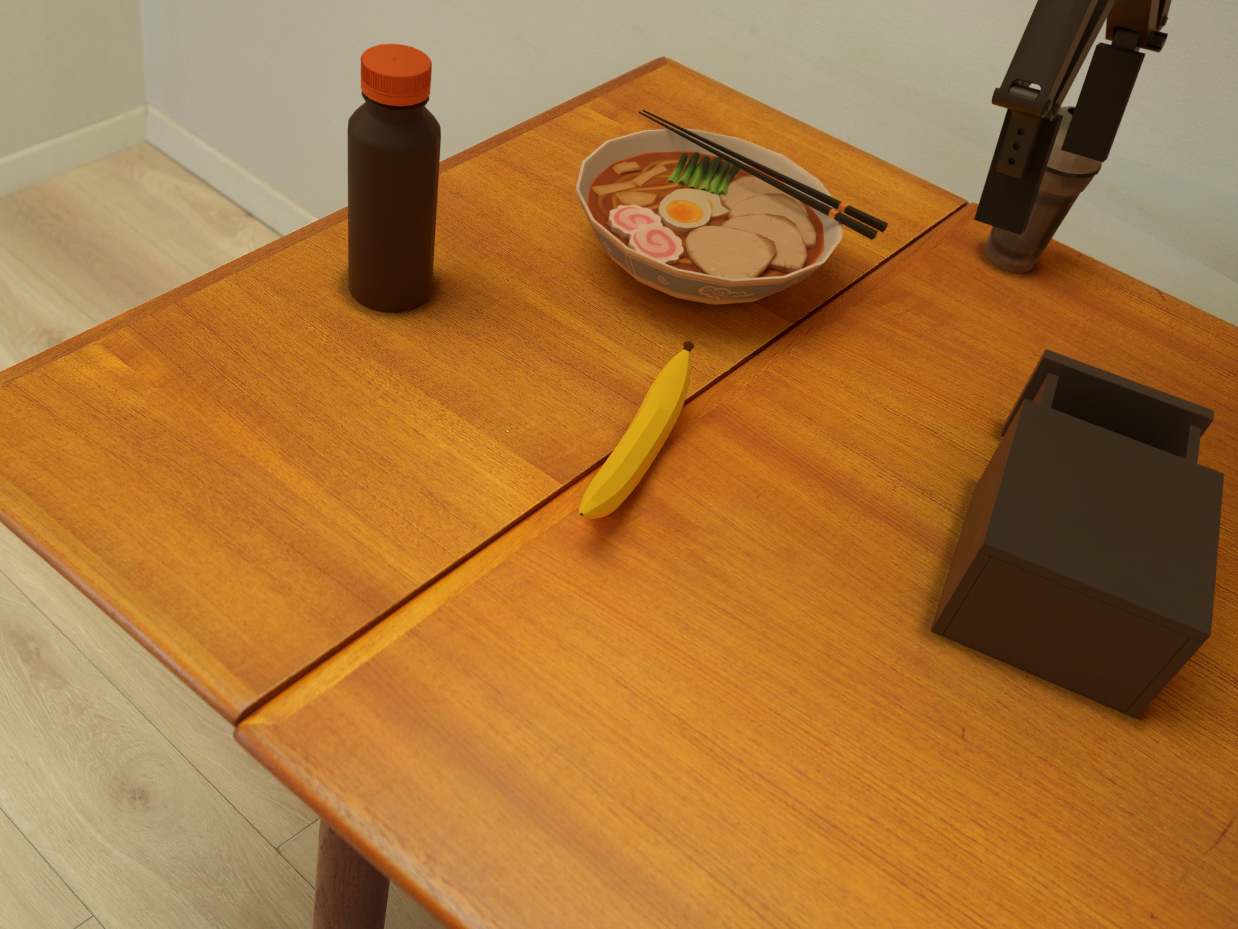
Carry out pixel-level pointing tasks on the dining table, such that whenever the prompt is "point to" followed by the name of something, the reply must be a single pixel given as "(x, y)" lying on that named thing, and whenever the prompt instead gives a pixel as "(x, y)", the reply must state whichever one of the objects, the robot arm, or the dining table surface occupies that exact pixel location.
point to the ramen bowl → (711, 214)
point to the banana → (640, 439)
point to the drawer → (1116, 405)
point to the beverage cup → (1044, 206)
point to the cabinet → (1086, 560)
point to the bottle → (393, 181)
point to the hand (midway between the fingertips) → (1043, 188)
